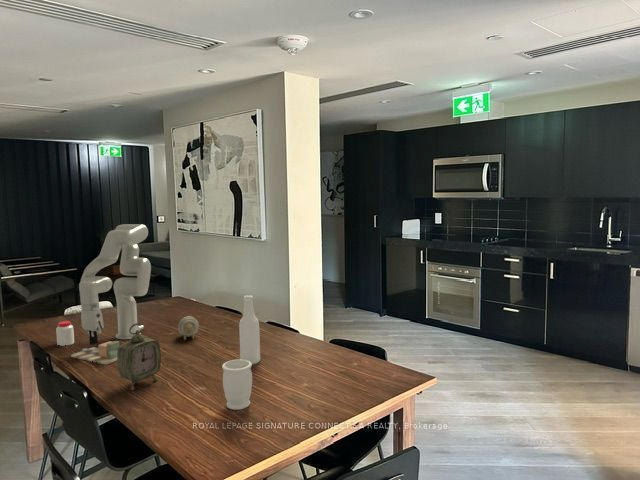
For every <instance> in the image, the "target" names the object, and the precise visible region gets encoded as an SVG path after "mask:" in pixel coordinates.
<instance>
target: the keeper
mask: <svg viewBox="0 0 640 480" xmlns="http://www.w3.org/2000/svg"><path fill="white" fill-rule="evenodd" d="M111 342H112V341H110V340H109V341H107V342H103V343H99V344H98V347H97V348H99V355H100V357H104V358H107V344H108V343H111Z"/></svg>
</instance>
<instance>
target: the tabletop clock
mask: <svg viewBox="0 0 640 480" xmlns="http://www.w3.org/2000/svg"><path fill="white" fill-rule="evenodd" d="M135 325H137V326H138V325H139V326H141V325H143V326H144V328H143V329H140V330H139V331H138V330H136V333H132V332H131V328H132V327H133V326H135ZM145 327H146V326H145V324H144V323H142V322H137V323H136V324H134V325H132V326H131V327H130V329H129V332H130V333H131V334H135V335H133V336H132V338H131V339H130V340H129V341H127V342H124V343H122V344H121V345H120V346H119V347H118V351H117V361H116V363H117V370H118V373H119V376H120V378H121V379H126V380H130V381H131V386H130V387H129V388H130V389H129V390H130V391H134V390H135V386H134V384H138V383H139V381H142V380H145V379H149V378H150V377H152V378H153V379H152V380H153V381H154V382H156V381H157V380H158V377H157V376H155V375H156V374H157V373H158V372H159V371H160V369H161V363H162V361H161V360H162V356H161V347H160V343H159V341H158V340H156V339H151V338H147V337H145V336H144V335H143V334H142V332H143V331H144V330H145ZM139 333H141V334H139Z"/></svg>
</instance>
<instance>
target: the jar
mask: <svg viewBox="0 0 640 480" xmlns="http://www.w3.org/2000/svg"><path fill="white" fill-rule="evenodd" d="M221 366H222V367H221V368H222V370H223V374H222V387H223V392H224V396H225V399H226V401H227V402H226V408H228V409H230V410H235V411H236V410H237V411H239V410H243V409H246V408H248V407H249V406H250V405H251V400H250V397H251V395H252V387H253V374H252V370H251V369H252V366H253V365H252V363H251V362H250V361H248V360H243V359H232V360H228V361H226V362H224V363H223V364H222V365H221Z"/></svg>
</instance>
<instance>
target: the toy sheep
mask: <svg viewBox="0 0 640 480" xmlns="http://www.w3.org/2000/svg"><path fill="white" fill-rule="evenodd" d="M199 327H200V324H199V321H198V319H196V318H195V317H193V316H189V315H188V316H184V317H182V319H180V321H179V322H178V325H177V329H178V332H179V334H181V335H182V336H183V340H184V341H186V340H187V337H189V338H190V337H191V339H192V340H194V339H195V335H196V334H197V332H198V331H199Z"/></svg>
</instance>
